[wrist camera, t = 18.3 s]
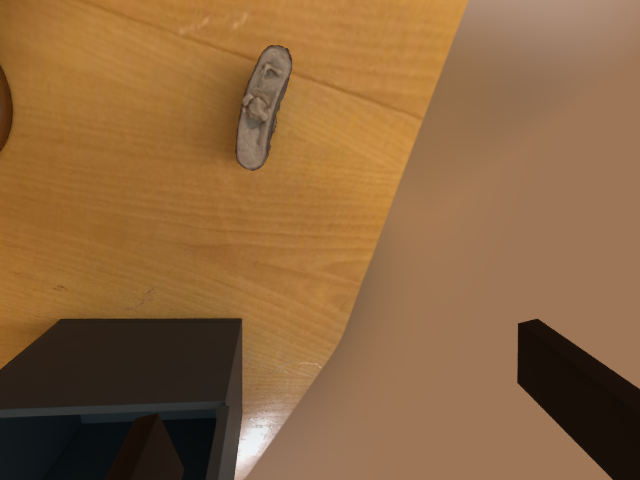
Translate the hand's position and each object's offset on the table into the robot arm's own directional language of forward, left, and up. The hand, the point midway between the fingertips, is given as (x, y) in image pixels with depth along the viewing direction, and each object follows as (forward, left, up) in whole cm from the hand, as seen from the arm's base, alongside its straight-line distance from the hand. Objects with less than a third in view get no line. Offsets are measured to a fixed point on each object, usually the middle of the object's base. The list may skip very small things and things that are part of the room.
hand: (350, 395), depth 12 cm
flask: (-4, +11, -26) cm, 28 cm away
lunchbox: (-16, -19, -25) cm, 36 cm away
